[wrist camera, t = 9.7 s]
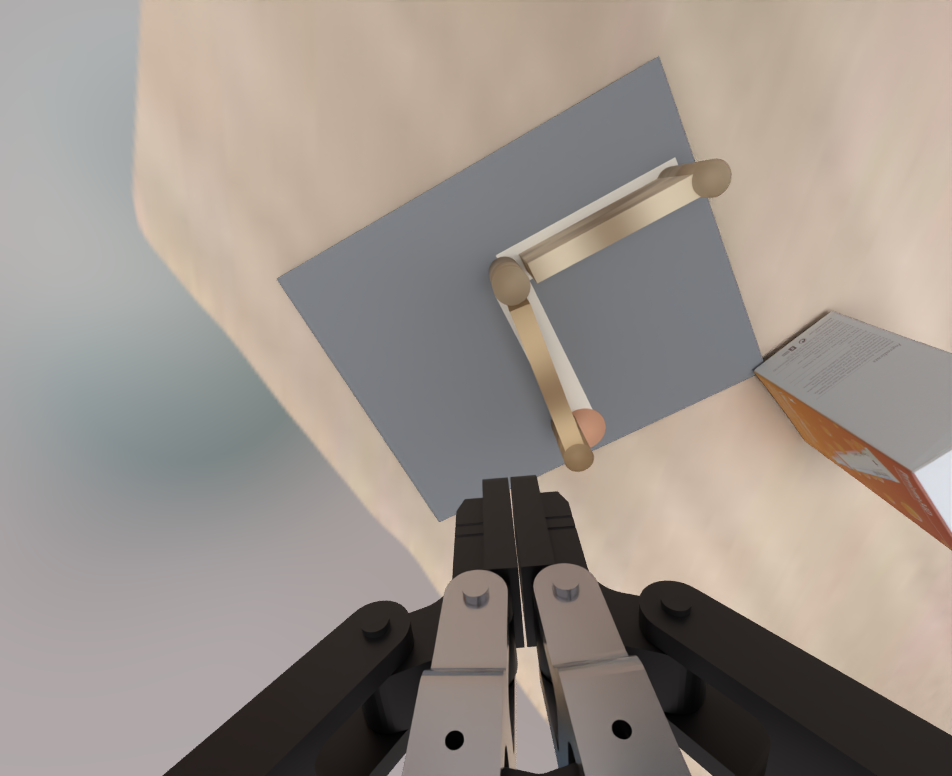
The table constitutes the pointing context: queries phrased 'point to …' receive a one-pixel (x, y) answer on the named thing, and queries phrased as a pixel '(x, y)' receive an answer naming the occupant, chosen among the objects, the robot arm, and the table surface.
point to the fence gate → (552, 390)
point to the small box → (873, 411)
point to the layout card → (531, 301)
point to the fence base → (608, 226)
